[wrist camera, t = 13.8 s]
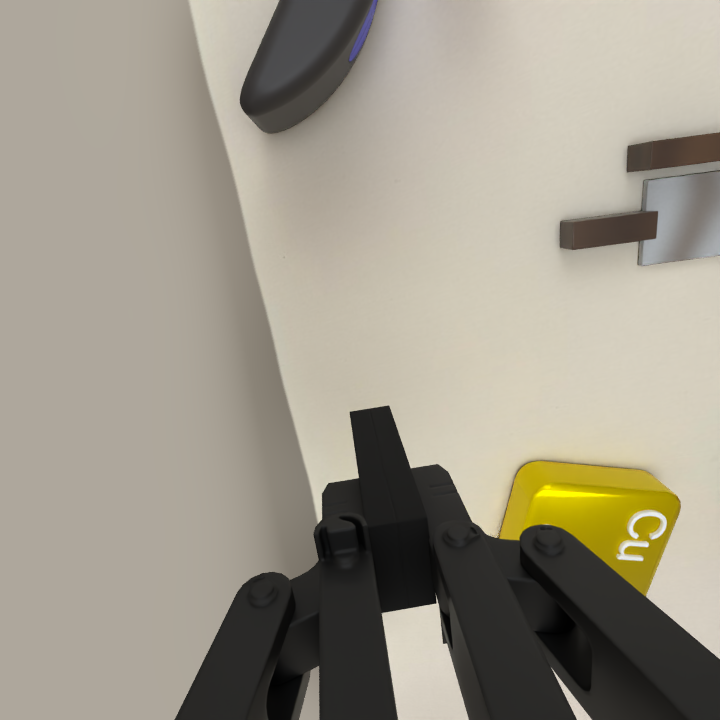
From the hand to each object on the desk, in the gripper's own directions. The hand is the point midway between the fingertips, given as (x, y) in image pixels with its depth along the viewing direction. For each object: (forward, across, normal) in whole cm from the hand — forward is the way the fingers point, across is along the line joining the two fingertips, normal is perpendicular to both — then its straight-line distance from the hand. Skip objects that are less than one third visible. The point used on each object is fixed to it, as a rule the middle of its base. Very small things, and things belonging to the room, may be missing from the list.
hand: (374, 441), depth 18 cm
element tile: (+24, +20, -27) cm, 41 cm away
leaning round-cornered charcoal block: (+25, +1, +21) cm, 32 cm away
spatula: (+24, +27, +3) cm, 36 cm away
